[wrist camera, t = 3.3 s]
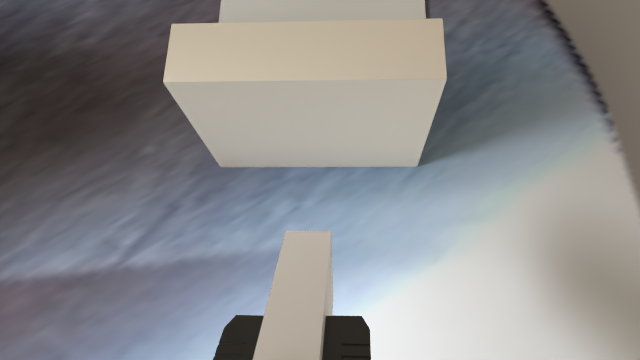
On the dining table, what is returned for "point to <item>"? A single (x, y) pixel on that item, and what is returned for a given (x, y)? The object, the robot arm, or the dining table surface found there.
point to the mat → (319, 10)
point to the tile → (309, 90)
